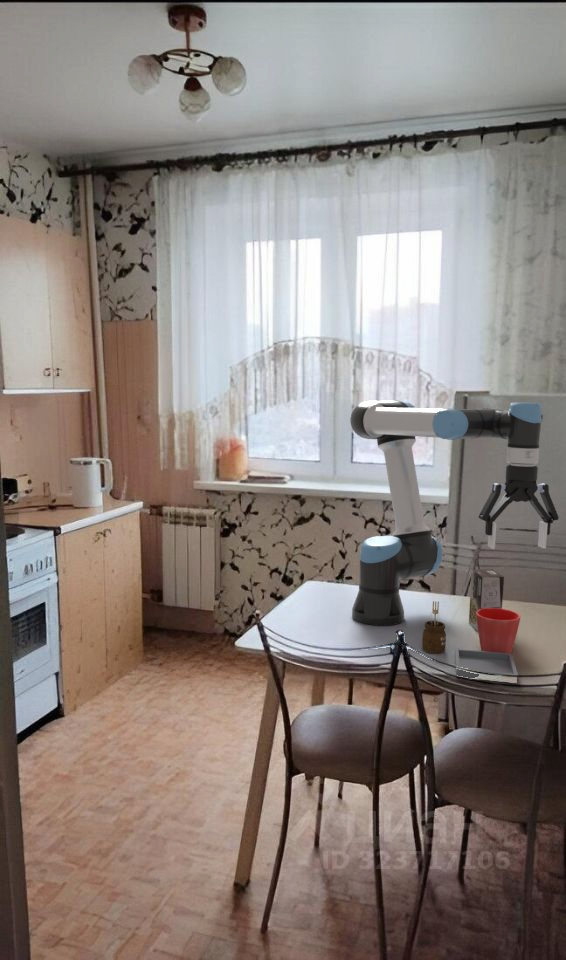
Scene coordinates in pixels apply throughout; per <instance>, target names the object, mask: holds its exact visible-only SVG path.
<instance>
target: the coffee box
mask: <svg viewBox="0 0 566 960" xmlns="http://www.w3.org/2000/svg"><path fill="white" fill-rule="evenodd" d="M470 571H471V573H470V589H469V592H470V593H469V611H468V613H469V615H468V617H469V618H468V624H469V625H470V626H471V627H472V628H473V629H475V630H476V631H477V632H478V626H477V618H476V612H477V611H478V610H480V609H484V608H500V609H503V600H504V599H503V598H504V584H505V576H504V575H502V574H500V573H499V572H497V571H496V570H494V569H493V568H478V569H475V568H474V569H471V570H470Z"/></svg>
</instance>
